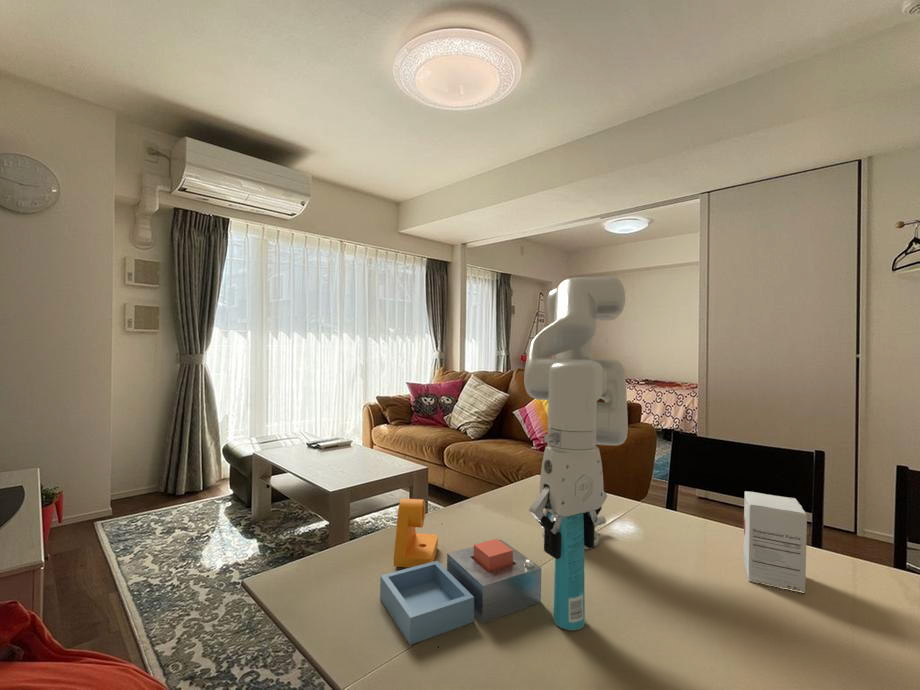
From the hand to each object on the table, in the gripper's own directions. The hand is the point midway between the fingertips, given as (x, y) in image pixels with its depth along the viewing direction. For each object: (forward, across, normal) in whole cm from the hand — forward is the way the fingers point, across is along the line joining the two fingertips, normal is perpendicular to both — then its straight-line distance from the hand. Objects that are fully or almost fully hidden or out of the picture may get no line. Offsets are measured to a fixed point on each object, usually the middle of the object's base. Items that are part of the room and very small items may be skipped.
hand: (569, 548), depth 69 cm
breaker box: (+12, -6, +12) cm, 18 cm away
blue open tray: (+12, -19, +14) cm, 26 cm away
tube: (+12, 0, 0) cm, 12 cm away
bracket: (+12, -13, +30) cm, 35 cm away
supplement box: (+12, +45, -9) cm, 47 cm away
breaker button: (+10, -7, +12) cm, 17 cm away
